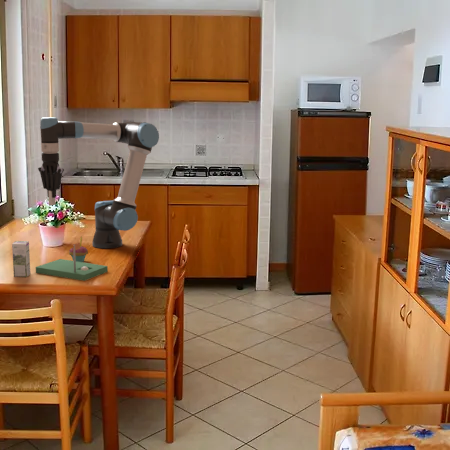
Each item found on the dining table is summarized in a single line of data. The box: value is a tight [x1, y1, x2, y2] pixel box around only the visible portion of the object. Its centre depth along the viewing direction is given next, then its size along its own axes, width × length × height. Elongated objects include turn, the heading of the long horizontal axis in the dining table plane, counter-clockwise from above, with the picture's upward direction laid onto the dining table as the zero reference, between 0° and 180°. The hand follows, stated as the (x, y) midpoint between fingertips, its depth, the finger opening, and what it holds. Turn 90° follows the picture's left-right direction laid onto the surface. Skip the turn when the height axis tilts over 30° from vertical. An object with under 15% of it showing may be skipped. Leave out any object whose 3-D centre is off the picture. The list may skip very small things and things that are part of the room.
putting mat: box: [35, 242, 109, 282], centre depth 272 cm, size 16×26×14 cm, turn 64°
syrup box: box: [11, 240, 31, 278], centre depth 266 cm, size 6×6×14 cm
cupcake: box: [68, 235, 89, 263], centre depth 290 cm, size 9×8×12 cm
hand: (52, 204), depth 286 cm, fingers closed
